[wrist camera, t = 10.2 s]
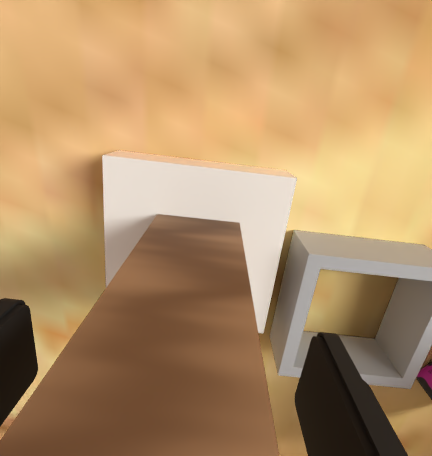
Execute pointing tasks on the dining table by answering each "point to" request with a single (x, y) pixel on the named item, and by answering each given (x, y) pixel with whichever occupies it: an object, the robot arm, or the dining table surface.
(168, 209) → the thin white tile
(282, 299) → the pocket
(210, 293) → the walnut block
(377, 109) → the dining table surface
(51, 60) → the dining table surface
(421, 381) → the candy bar box
